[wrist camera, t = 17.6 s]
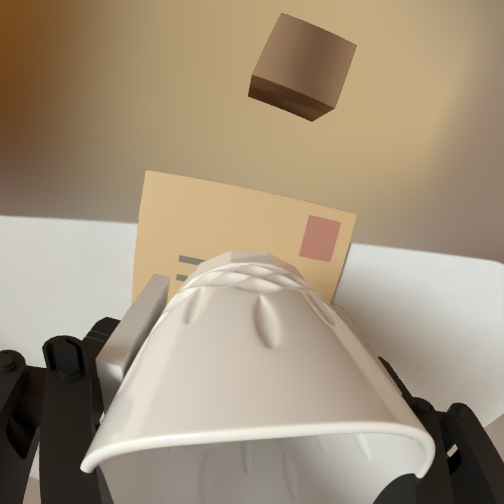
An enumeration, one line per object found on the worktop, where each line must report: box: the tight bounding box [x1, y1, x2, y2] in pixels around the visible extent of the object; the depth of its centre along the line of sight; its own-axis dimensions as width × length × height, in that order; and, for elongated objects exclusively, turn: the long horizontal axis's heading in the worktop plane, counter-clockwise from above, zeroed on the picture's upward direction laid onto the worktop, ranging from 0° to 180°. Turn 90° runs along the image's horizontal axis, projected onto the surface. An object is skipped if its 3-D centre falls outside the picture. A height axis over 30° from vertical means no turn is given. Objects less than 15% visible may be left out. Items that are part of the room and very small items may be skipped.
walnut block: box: [248, 13, 357, 122], centre depth 15 cm, size 5×5×5 cm
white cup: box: [80, 250, 435, 504], centre depth 9 cm, size 8×8×10 cm
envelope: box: [132, 170, 357, 305], centre depth 21 cm, size 16×11×1 cm
